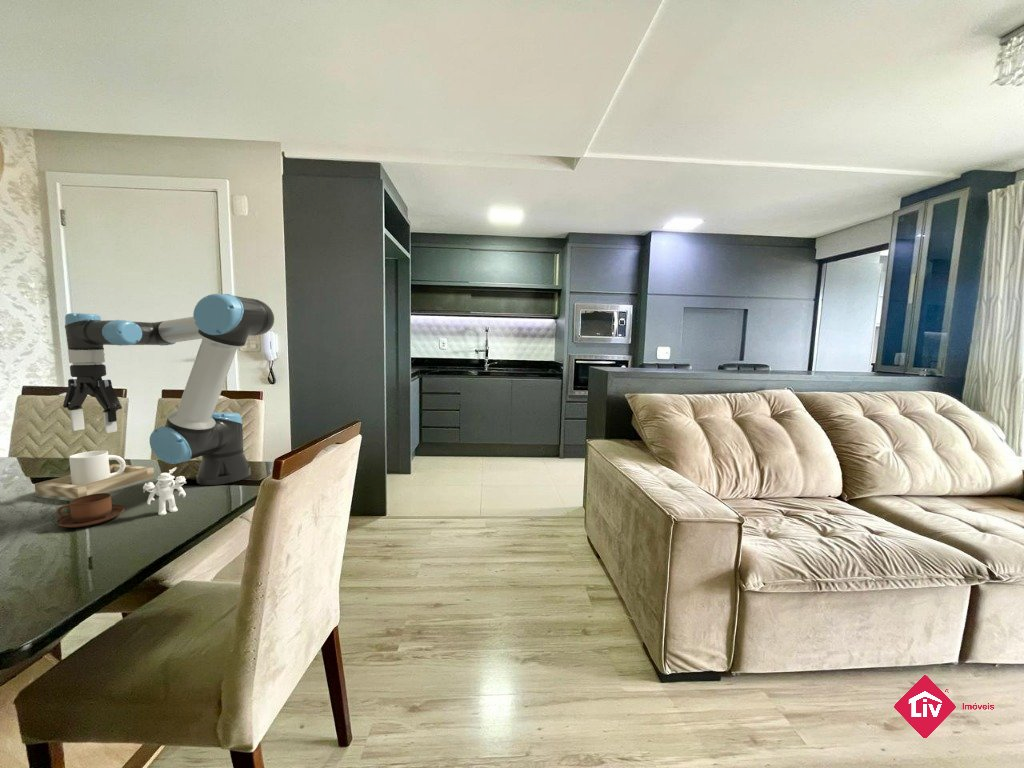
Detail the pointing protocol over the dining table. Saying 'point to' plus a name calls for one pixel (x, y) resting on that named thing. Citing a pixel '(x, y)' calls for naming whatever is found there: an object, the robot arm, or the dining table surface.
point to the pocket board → (94, 483)
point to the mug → (92, 467)
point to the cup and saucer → (89, 511)
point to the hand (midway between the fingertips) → (94, 431)
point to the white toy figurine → (165, 491)
